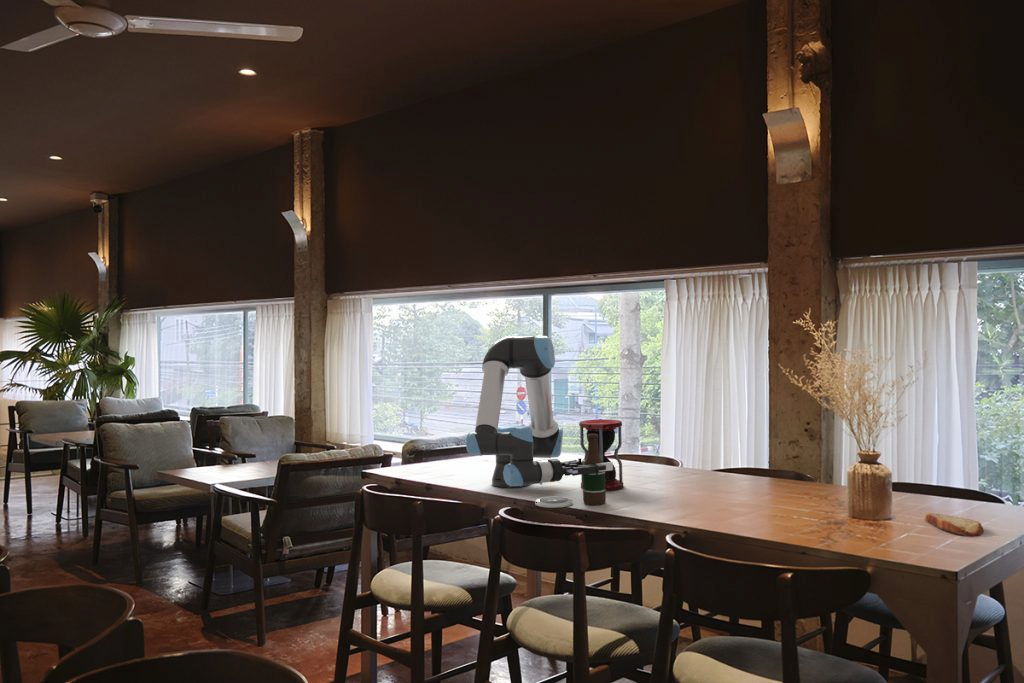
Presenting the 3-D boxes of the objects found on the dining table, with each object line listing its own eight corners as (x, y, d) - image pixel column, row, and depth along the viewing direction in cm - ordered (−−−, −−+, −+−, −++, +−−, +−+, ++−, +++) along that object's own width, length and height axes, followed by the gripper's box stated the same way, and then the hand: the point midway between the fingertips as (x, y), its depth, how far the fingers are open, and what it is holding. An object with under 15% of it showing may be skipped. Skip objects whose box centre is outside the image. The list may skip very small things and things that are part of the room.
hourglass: (580, 491, 305) (578, 424, 304) (581, 483, 321) (579, 419, 320) (624, 491, 303) (622, 423, 303) (622, 482, 319) (621, 418, 319)
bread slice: (927, 518, 253) (927, 506, 253) (993, 527, 241) (993, 514, 241) (908, 529, 240) (908, 517, 240) (977, 539, 228) (977, 526, 228)
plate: (535, 499, 292) (535, 496, 292) (572, 499, 291) (572, 495, 291) (534, 508, 279) (534, 503, 279) (573, 507, 278) (572, 503, 278)
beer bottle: (604, 505, 280) (603, 435, 279) (581, 505, 281) (580, 435, 281) (606, 501, 287) (605, 432, 287) (584, 500, 289) (582, 432, 289)
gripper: (533, 477, 285) (589, 470, 296) (564, 487, 267) (622, 479, 277) (533, 455, 285) (589, 449, 295) (563, 464, 267) (622, 457, 277)
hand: (605, 464), depth 286 cm, fingers open, 8 cm apart
